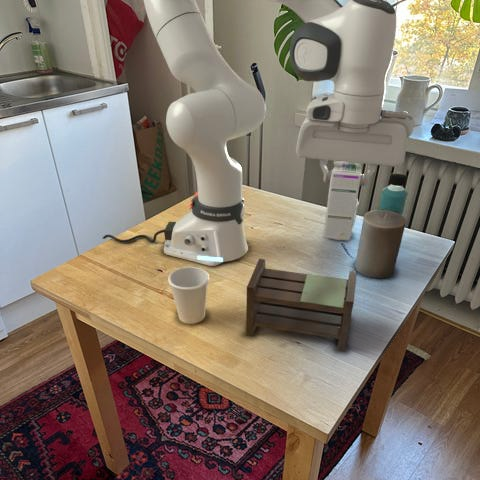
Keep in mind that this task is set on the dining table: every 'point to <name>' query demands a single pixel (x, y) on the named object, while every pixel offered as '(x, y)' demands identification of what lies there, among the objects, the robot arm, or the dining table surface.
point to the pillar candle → (379, 243)
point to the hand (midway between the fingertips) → (344, 182)
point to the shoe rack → (300, 302)
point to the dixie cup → (189, 293)
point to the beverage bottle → (394, 194)
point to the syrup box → (342, 200)
